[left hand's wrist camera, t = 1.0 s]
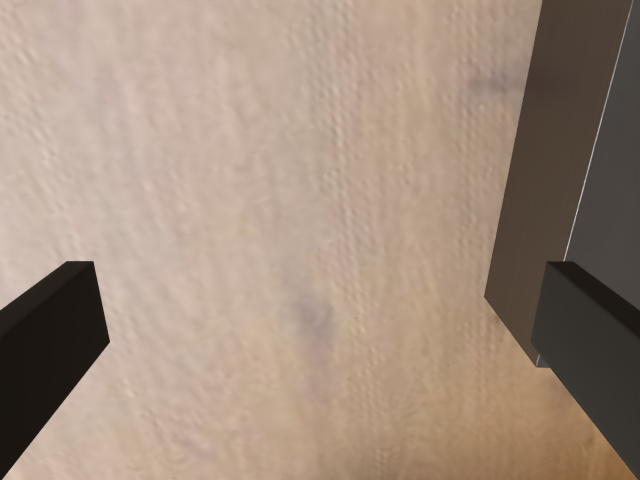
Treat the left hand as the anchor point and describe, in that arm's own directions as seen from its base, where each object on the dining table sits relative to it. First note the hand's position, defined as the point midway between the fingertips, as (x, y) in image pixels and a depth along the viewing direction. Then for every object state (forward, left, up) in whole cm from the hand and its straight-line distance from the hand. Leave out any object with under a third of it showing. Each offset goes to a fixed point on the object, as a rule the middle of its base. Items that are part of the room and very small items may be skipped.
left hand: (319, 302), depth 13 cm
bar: (+1, -17, -21) cm, 27 cm away
